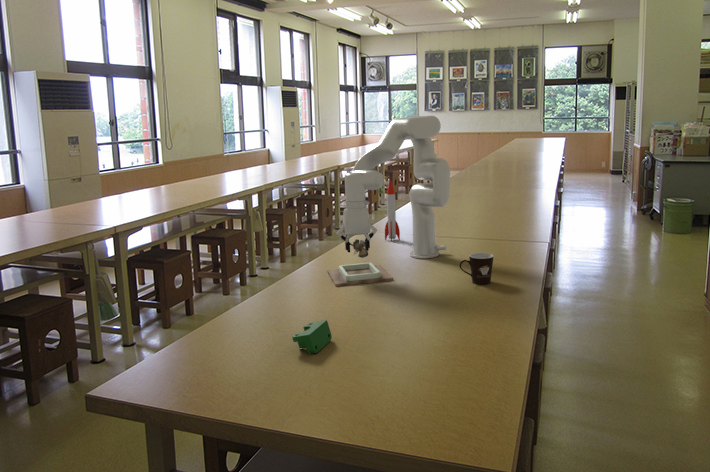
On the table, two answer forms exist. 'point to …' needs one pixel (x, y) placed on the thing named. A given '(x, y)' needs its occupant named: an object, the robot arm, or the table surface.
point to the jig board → (359, 274)
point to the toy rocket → (391, 215)
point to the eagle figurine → (360, 248)
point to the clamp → (313, 336)
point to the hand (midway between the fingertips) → (357, 250)
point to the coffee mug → (480, 267)
